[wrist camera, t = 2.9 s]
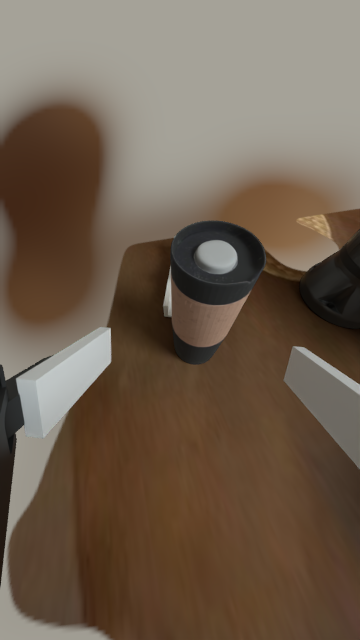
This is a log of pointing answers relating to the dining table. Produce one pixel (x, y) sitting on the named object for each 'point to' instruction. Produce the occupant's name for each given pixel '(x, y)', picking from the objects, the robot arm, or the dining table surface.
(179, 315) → the travel mug
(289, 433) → the dining table surface
